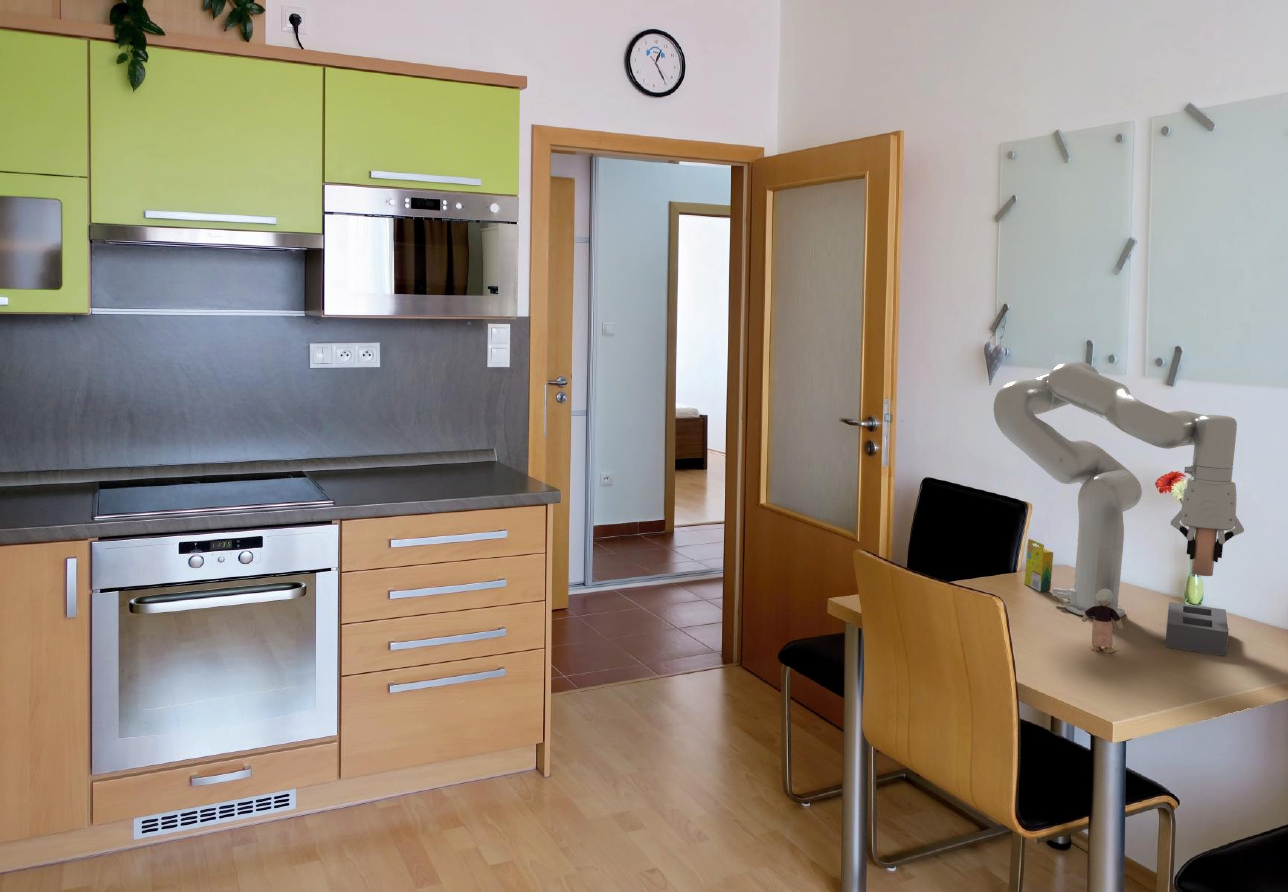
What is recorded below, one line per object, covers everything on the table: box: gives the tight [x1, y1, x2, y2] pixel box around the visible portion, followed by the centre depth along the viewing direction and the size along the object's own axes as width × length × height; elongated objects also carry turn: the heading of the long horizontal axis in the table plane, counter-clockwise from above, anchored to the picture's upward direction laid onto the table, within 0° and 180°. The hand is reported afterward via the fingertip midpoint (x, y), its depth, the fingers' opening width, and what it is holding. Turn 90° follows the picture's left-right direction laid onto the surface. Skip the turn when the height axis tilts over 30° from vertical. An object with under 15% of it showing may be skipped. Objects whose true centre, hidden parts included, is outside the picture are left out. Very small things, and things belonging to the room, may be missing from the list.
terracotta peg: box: [1191, 528, 1218, 577], centre depth 231 cm, size 4×4×11 cm
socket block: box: [1165, 601, 1229, 657], centre depth 229 cm, size 11×18×5 cm, turn 154°
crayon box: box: [1024, 538, 1054, 593], centre depth 266 cm, size 7×3×12 cm, turn 11°
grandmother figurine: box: [1081, 589, 1124, 654], centre depth 220 cm, size 8×4×13 cm, turn 71°
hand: (1203, 558), depth 231 cm, fingers closed on terracotta peg, 4 cm apart
